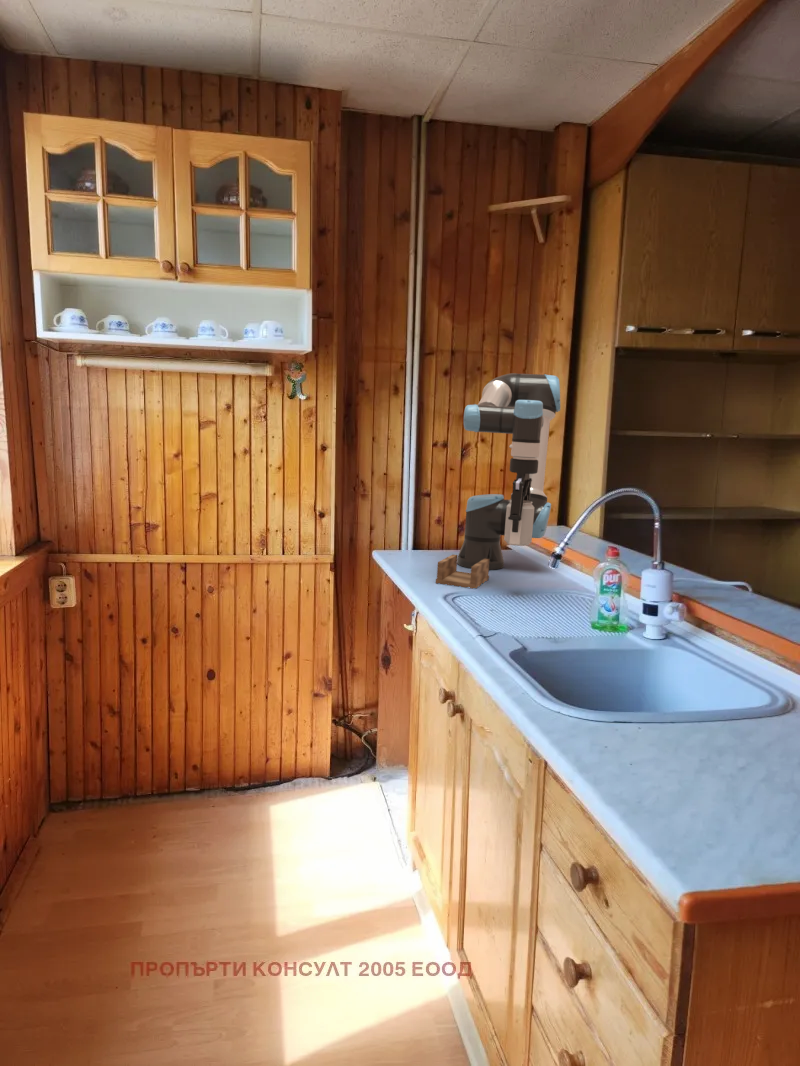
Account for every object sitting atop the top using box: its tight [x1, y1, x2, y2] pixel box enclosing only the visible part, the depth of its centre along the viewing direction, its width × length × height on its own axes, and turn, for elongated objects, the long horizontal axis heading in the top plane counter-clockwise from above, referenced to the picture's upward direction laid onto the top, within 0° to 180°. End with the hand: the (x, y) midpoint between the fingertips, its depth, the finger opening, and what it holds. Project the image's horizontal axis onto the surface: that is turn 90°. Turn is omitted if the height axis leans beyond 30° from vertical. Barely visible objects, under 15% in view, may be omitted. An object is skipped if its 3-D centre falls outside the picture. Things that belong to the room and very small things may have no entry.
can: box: [503, 499, 534, 547], centre depth 197 cm, size 8×8×12 cm
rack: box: [435, 554, 490, 589], centre depth 212 cm, size 14×12×6 cm
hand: (517, 541), depth 198 cm, fingers closed on can, 7 cm apart
